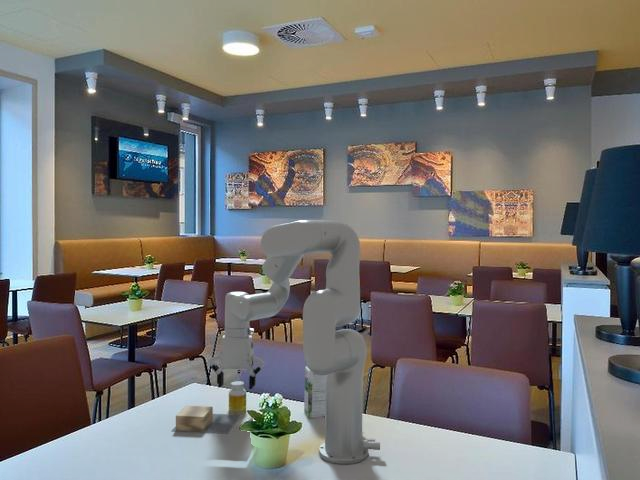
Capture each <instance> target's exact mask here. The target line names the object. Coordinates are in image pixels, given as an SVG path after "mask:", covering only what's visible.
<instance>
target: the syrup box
mask: <svg viewBox="0 0 640 480" xmlns="http://www.w3.org/2000/svg"><path fill="white" fill-rule="evenodd" d="M326 377H327V375H316V374H314V373H313V372H311V371H310V370H309V368H308V367H307V366H304V395H303V396H304V399H303V400H304V405H303V406H304V409H303V411H304V413H305V415H306V417H308V419H317V418H325V417H324V416H325V384H326Z"/></svg>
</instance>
